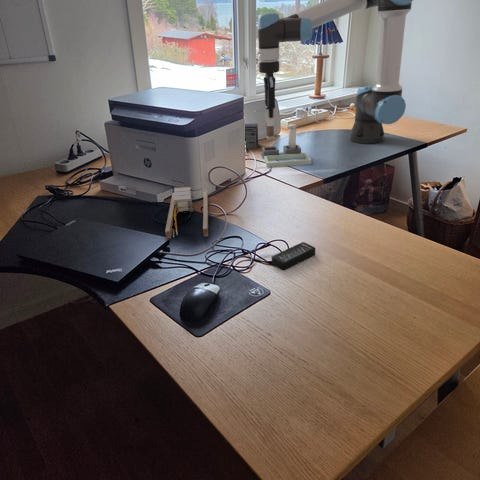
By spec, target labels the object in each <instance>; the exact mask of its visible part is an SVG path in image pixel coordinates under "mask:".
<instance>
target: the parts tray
mask: <svg viewBox="0 0 480 480" xmlns="http://www.w3.org/2000/svg"><path fill="white" fill-rule="evenodd" d="M290 159H296V160H290ZM263 160H264V162H265V165H266V167H267V168H268V167H269V168H272V167H273V168H274V167H286V166H287V167H288V166H300V165H302V166H303V165H312V161H313V160H312V159H311V156H309V154H308V153H307V152H304V153H302V152H301V154H286V155H271V156H264V159H263ZM275 160H280V161H275ZM282 160H283V161H282ZM269 161H270V162H269Z"/></svg>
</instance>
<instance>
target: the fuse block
mask: <svg viewBox="0 0 480 480" xmlns="http://www.w3.org/2000/svg"><path fill="white" fill-rule="evenodd" d="M282 146H283V147H282V148H283V152H280V149H279V148H278V146H277V145H273V146H272V145H271V146H261V158H262V160H264V156H271V155H286V154H301V153H302V148H301V147H300V145H299V144H296V149H288V144H287V145H282Z"/></svg>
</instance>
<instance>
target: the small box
mask: <svg viewBox="0 0 480 480" xmlns="http://www.w3.org/2000/svg"><path fill="white" fill-rule="evenodd" d="M244 124H245V141H246V148H245V149H258V147H259V127H258V124H259V123H244Z"/></svg>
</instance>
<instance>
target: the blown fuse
mask: <svg viewBox="0 0 480 480" xmlns="http://www.w3.org/2000/svg"><path fill="white" fill-rule="evenodd" d="M265 123H266V124H265V125H266V126H265V127H266V139H265V140H267V141H269V140H270V141H271V140H275V125H274V126H267V109H266V108H265Z"/></svg>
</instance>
